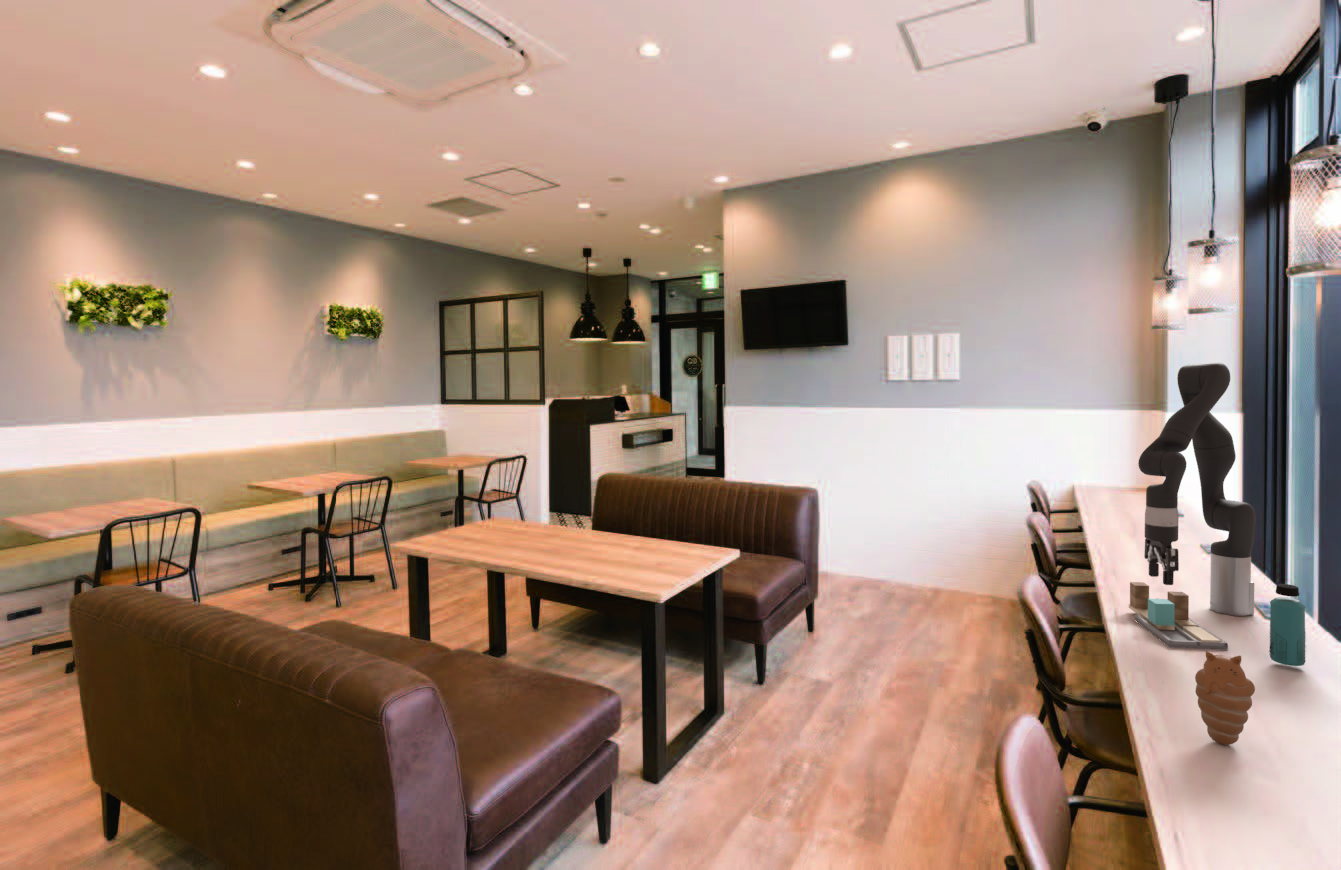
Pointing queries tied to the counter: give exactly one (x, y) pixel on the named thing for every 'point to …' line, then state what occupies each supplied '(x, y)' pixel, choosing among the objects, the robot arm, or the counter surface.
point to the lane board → (1186, 636)
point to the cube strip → (1145, 616)
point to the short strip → (1181, 609)
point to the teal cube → (1161, 612)
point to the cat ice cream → (1223, 697)
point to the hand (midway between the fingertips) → (1160, 580)
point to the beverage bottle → (1287, 627)
